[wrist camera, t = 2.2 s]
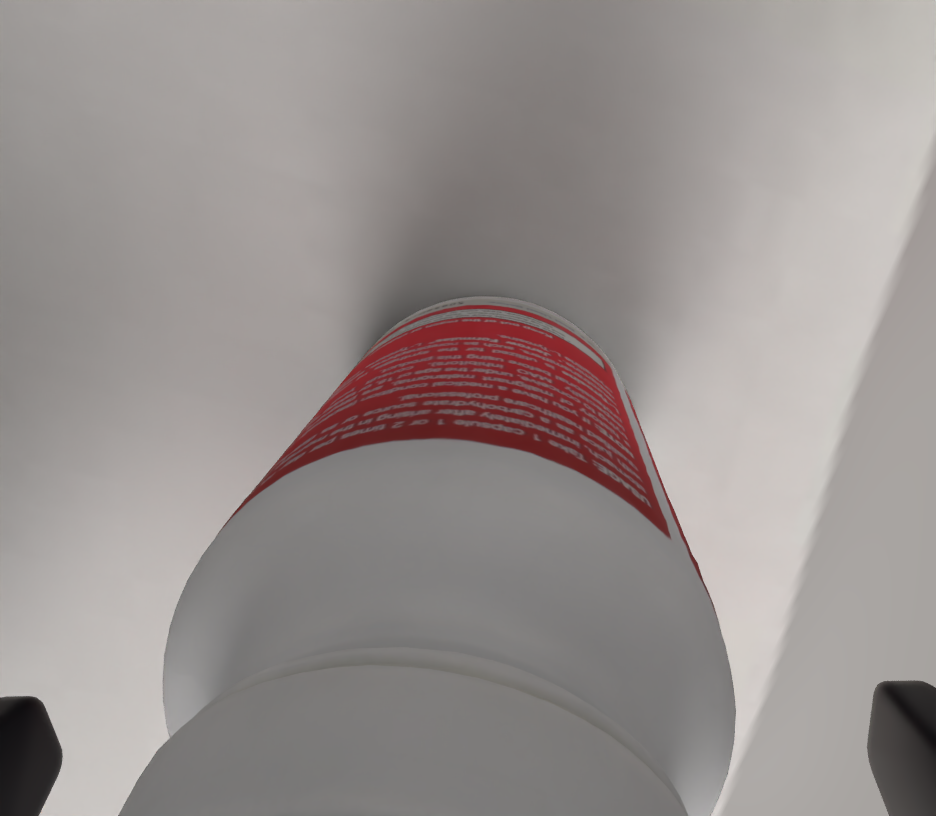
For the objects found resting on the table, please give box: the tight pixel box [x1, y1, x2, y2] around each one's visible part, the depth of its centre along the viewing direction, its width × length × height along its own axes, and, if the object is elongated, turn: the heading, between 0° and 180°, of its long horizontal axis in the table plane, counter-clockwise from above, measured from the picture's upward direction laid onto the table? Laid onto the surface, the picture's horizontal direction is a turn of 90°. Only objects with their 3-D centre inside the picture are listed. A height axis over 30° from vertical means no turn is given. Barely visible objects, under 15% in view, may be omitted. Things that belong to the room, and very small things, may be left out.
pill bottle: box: [118, 296, 736, 816], centre depth 10 cm, size 6×6×11 cm
